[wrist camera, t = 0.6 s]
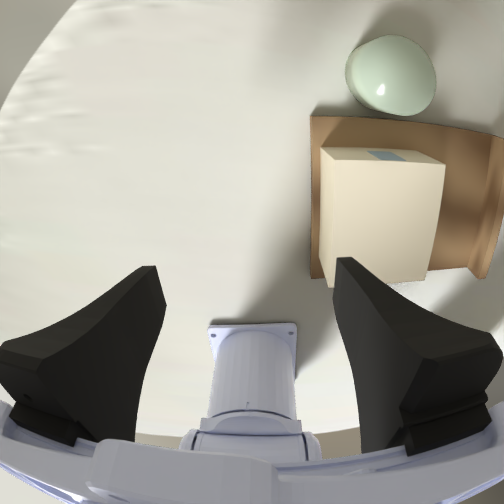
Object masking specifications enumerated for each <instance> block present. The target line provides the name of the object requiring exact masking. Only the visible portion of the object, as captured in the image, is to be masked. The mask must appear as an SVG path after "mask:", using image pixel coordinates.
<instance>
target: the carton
mask: <svg viewBox="0 0 504 504" xmlns="http://www.w3.org/2000/svg"><path fill="white" fill-rule="evenodd" d="M320 158H321V191H320V237H319V258H320V262H321V265H322V268H323V271H324V275H325V278H326V281H327V285H328V288H334V282H335V270H336V258H337V257H353V258H354V259H355V260H357V261H358V262H359V263H360V264H362V265H363V266H364V267H365V268H366V269H368V270H369V271H370V272H371V273H372V274H374V275H375V276H376V277H377V278H379V279H380V280H381V281H382V282H384V283H385V284H388V283H400V282H411V281H422V280H425V277H426V273H427V269H428V265H429V261H430V256H431V252H432V248H433V243H434V238H435V233H436V228H437V223H438V217H439V211H440V205H441V199H442V192H443V185H444V176H445V167H446V165H445V164H443V163H441V162H439V161H437V160H435V159H433V158H431V157H429V156H427V155H425V154H422V153H420V152H418V151H415V150H401V149H384V148H357V147H320Z"/></svg>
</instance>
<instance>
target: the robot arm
mask: <svg viewBox="0 0 504 504" xmlns="http://www.w3.org/2000/svg"><path fill="white" fill-rule="evenodd" d="M333 304H334V309H335V315H336V320H337V323H338V327H339V330H340V333H341V336H342V339H343V342H344V345H345V349H346V352H347V355H348V358H349V361H350V365H351V369H352V373H353V378H354V384H355V391H356V397H357V405H358V413H359V423H360V433H361V451H362V454H359V455H353V456H346V457H339V458H331V459H322V453H321V447H320V444H319V441H318V439H317V438H316V437H314V436H313V434H312V433H311V432H302V426H301V420H297V418H296V403H295V389H294V382H295V362H296V339H297V326H296V324H295V323H275V324H246V325H210V326H209V327H208V330H207V332H208V336H209V340H210V345H211V349H212V353H213V357H214V361H215V367H214V374H213V380H212V387H211V394H210V400H209V407H208V414H207V418H201V424H200V430H198V429H191V430H190V431H189V432H188V433H187V434H186V435H185V436H184V437H183V438H182V440H181V442H180V445H179V448H178V449H174V448H167V447H160V446H153V445H146V444H141V443H135V430H136V420H137V412H138V406H139V400H140V394H141V389H142V385H143V380H144V376H145V372H146V369H147V366H148V363H149V360H150V358H151V355H152V352H153V349H154V347H155V344H156V341H157V339H158V336H159V333H160V331H161V328H162V324H163V320H164V316H165V311H166V306H167V305H166V301H165V298H164V294H163V291H162V287H161V284H160V280H159V276H158V273H157V269H156V266H142V267H140V268H138V269H137V270H135V271H134V272H132V273H131V274H130V275H128V276H127V277H126V278H124V279H123V280H122V281H120V282H119V283H118V284H116V285H115V286H114V287H112V288H111V289H110V290H108V291H107V292H106V293H104V294H103V295H101V296H100V297H99V298H97V299H96V300H94V301H93V302H92V303H90V304H89V305H87V306H86V307H84V308H82V309H81V310H79V311H77V312H76V313H74V314H72V315H71V316H69V317H67V318H65V319H63V320H61V321H59V322H57V323H55V324H53V325H51V326H49V327H46V328H44V329H41V330H39V331H36V332H34V333H31V334H28V335H25V336H22V337H18V338H15V339H11V340H8V341H5V342H3V344H2V345H1V346H0V383H1V385H2V386H3V387H4V388H5V390H6V391H7V392H8V393H9V394H10V396H11V397H12V398H13V399H14V400H15V401H16V403H15V405H14V407H12V406H11V405H9V404H8V403H6V402H4V401H2V400H0V467H1V468H3V469H4V470H5V471H7V472H8V473H10V474H12V475H13V476H15V477H17V478H18V479H20V480H22V481H23V482H25V483H27V484H29V485H31V486H32V487H34V488H36V489H38V490H40V491H42V492H44V493H46V494H47V495H49V496H51V497H54V498H56V499H58V500H60V501H62V502H64V503H66V504H457V503H459V502H461V501H463V500H465V499H467V498H469V497H471V496H473V495H476V494H477V493H479V492H481V491H483V490H485V489H487V488H489V487H491V486H493V485H494V484H496V483H498V482H500V481H501V480H503V479H504V401H502V402H500V403H498V404H496V405H494V406H492V407H491V408H490V409H489V410H487V408H486V406H485V403H486V402H487V401H488V397H487V394H486V393H485V389H486V388H487V387H488V385H489V384H490V382H491V381H492V379H493V378H494V377H495V375H496V374H497V372H498V370H499V368H500V366H501V363H502V359H503V352H502V350H501V349H500V347H499V346H498V344H497V343H496V341H495V339H494V338H493V336H492V335H491V334H490V333H488V332H484V331H480V330H477V329H473V328H469V327H466V326H463V325H460V324H458V323H455V322H452V321H450V320H447V319H445V318H442V317H440V316H438V315H436V314H434V313H432V312H430V311H428V310H426V309H424V308H422V307H420V306H418V305H417V304H415V303H413V302H412V301H410V300H408V299H406V298H405V297H403V296H402V295H400V294H399V293H398V292H396V291H395V290H393V289H392V288H390V287H389V286H388V285H386V284H385V283H384V282H382V281H381V280H380V279H379V278H377V277H376V276H375V275H374V274H372V273H371V272H370V271H369V270H368V269H366V268H365V267H364V266H363V265H362V264H360V263H359V262H358V261H357V260H355V259H354V258H353V257H337V258H336V270H335V282H334V292H333ZM290 331H293V332H290ZM214 334H215V335H214Z"/></svg>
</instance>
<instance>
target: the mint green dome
mask: <svg viewBox="0 0 504 504" xmlns="http://www.w3.org/2000/svg"><path fill="white" fill-rule="evenodd" d="M345 78H346V82H347V85H348V88H349V89H350V91H351V93H352V94H353V96H354V97H355V98H356V99H357V100H358V101H359V102H360V103H361V104H362V105H364V106H366V107H367V108H369V109H372V110H375V111H380V112H385V113H391V114H396V115H401V116H410V115H414V114H417V113H420V112H421V111H423V110H424V109H425V108H426V107H427V106H428V105H429V104H430V103H431V101H432V99H433V97H434V94H435V91H436V74H435V70H434V67H433V64H432V62H431V60H430V58H429V57H428V55H427V54H426V53H425V51H424V50H423V49H422V48H421V47H420V46H419V45H417V44H416V43H415V42H413V41H411V40H410V39H408V38H405V37H402V36H398V35H386V36H382V37H379V38H377V39H374V40H372V41H370V42H368V43H365V44H363V45H361V46H359V47H357V48H356V49H355V50H354V51H353V52H352V53H351V54H350V56H349V57H348V59H347V62H346V66H345Z"/></svg>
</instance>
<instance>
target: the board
mask: <svg viewBox="0 0 504 504" xmlns="http://www.w3.org/2000/svg"><path fill="white" fill-rule="evenodd" d="M310 134H311V256H310V276H311V279H316V278H325V275H324V271H323V268H322V265H321V262H320V258H319V237H320V191H321V158H320V147H357V148H384V149H401V150H415V151H418V152H420V153H422V154H425V155H427V156H429V157H431V158H433V159H435V160H437V161H439V162H441V163H443V164H445V165H446V167H445V176H444V185H443V192H442V199H441V205H440V211H439V217H438V223H437V228H436V233H435V238H434V243H433V248H432V252H431V256H430V261H429V265H428V269H427V271H430V270H442V269H452V268H463V267H468V269H469V270H470V271H471V272H472V273H473V274H474V275H475V277H476V278H477V279H484V278H486V275H487V272H488V269H489V266H490V263H491V260H492V256H493V253H494V250H495V246H496V243H497V239H498V235H499V231H500V227H501V223H502V219H503V215H504V139H503V138H500V137H497V136H494V135H490V134H486V133H481V132H476V131H471V130H466V129H460V128H454V127H448V126H442V125H435V124H428V123H420V122H412V121H403V120H392V119H380V118H365V117H343V116H310Z"/></svg>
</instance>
